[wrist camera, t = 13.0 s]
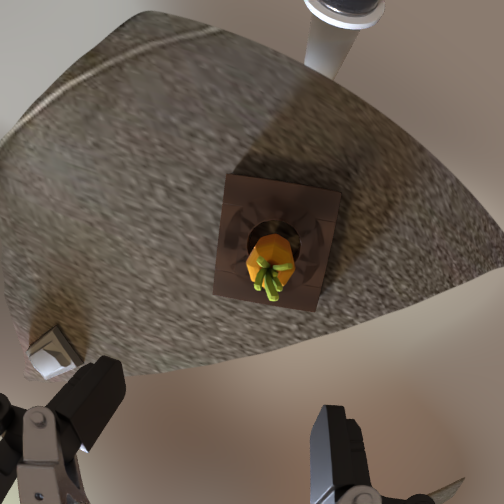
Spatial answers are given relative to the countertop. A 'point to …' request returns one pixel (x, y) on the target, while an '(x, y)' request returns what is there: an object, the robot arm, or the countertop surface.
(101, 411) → the robot arm
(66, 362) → the soap mold
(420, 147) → the countertop surface
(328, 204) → the socket board
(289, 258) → the carrot
